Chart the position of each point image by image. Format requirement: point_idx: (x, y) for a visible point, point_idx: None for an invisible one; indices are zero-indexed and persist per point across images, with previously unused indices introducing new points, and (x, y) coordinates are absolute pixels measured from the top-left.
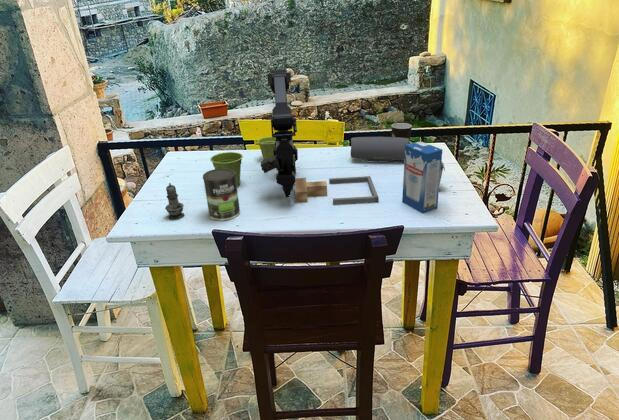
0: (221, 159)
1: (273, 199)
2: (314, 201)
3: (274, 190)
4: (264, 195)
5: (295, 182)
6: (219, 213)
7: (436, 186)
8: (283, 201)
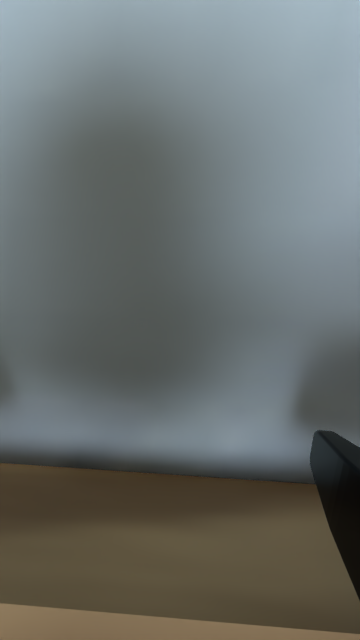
0: None
1: (71, 232)
2: None
3: (348, 246)
4: (214, 95)
5: (229, 628)
6: None
7: None
8: (12, 348)
